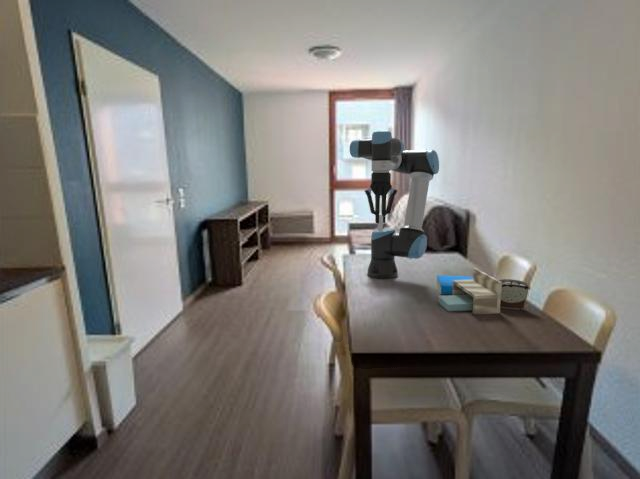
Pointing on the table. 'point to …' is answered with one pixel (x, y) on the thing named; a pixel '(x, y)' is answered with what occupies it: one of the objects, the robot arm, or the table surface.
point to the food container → (513, 294)
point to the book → (448, 283)
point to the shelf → (480, 292)
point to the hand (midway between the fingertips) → (380, 231)
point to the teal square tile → (456, 302)
